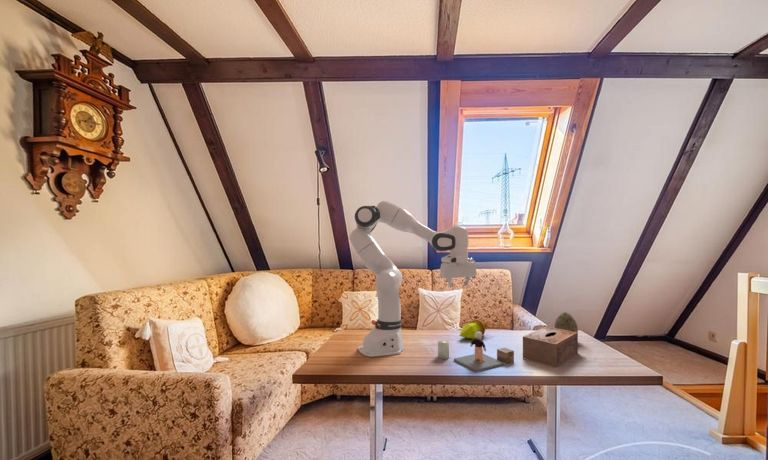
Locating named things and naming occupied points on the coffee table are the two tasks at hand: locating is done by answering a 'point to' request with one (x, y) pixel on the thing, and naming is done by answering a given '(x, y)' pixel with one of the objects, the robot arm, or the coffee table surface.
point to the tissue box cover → (550, 346)
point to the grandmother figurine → (478, 347)
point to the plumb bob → (473, 329)
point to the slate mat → (476, 365)
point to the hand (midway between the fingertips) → (458, 286)
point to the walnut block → (505, 355)
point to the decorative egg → (566, 322)
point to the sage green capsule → (443, 349)
